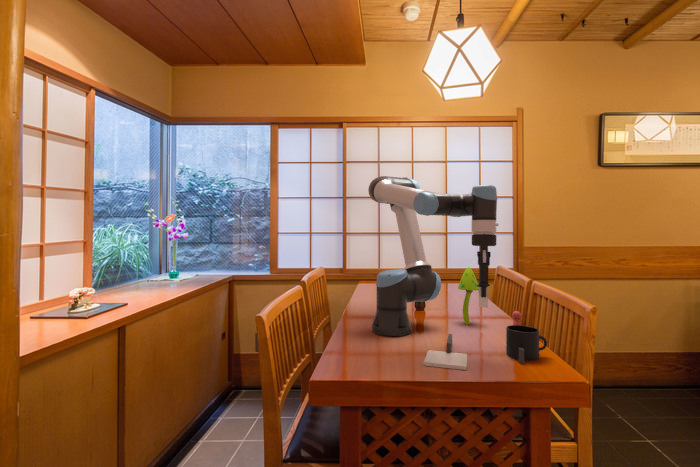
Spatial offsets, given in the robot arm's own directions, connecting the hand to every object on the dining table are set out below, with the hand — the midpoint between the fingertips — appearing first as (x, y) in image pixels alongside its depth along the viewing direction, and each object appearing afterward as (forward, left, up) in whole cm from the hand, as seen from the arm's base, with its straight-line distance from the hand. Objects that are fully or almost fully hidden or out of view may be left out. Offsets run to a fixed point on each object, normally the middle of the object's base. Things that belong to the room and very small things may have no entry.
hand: (483, 306), depth 120 cm
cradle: (0, 0, -15) cm, 15 cm away
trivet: (-11, -11, -15) cm, 22 cm away
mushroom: (-5, +35, -15) cm, 38 cm away
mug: (+13, +2, -16) cm, 20 cm away
